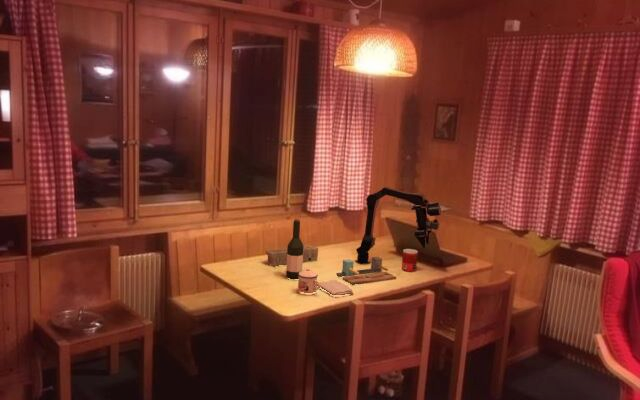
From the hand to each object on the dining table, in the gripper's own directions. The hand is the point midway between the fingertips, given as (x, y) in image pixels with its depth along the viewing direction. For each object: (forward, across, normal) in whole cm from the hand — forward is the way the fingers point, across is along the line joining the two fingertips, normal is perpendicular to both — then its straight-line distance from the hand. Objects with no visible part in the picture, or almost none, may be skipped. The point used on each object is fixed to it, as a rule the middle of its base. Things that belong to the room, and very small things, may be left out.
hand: (426, 245), depth 303 cm
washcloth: (+8, -49, +36) cm, 62 cm away
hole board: (+10, -25, +26) cm, 37 cm away
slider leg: (+7, -27, +35) cm, 45 cm away
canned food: (+13, +2, +12) cm, 18 cm away
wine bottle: (+2, -42, +59) cm, 73 cm away
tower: (-1, -19, +71) cm, 73 cm away
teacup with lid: (+5, -59, +45) cm, 74 cm away
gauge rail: (+8, -21, +30) cm, 38 cm away
